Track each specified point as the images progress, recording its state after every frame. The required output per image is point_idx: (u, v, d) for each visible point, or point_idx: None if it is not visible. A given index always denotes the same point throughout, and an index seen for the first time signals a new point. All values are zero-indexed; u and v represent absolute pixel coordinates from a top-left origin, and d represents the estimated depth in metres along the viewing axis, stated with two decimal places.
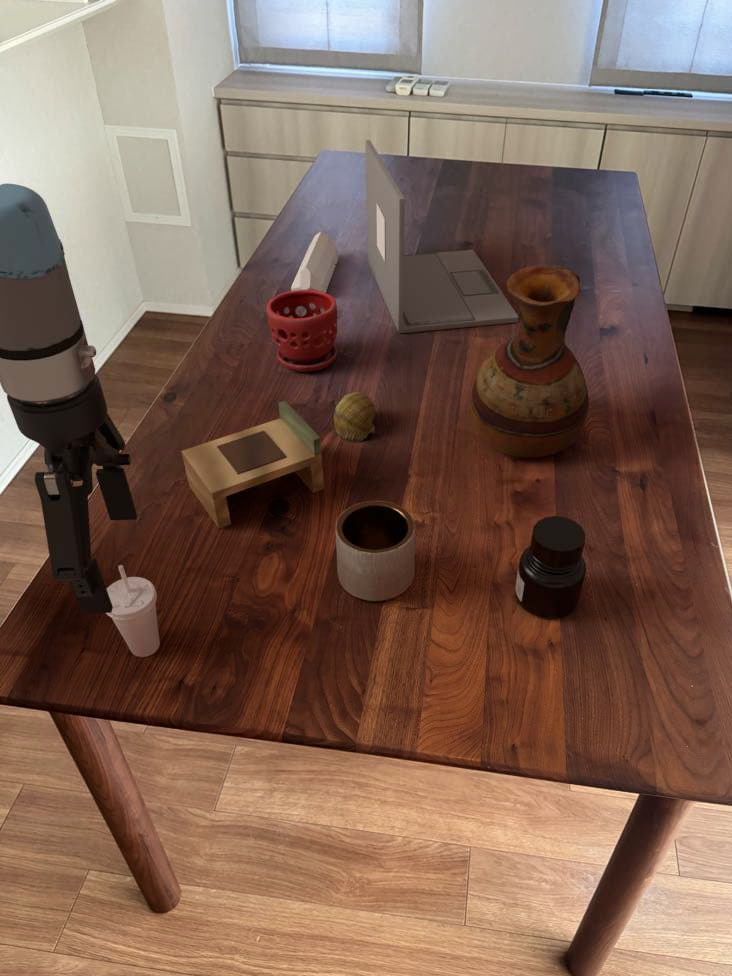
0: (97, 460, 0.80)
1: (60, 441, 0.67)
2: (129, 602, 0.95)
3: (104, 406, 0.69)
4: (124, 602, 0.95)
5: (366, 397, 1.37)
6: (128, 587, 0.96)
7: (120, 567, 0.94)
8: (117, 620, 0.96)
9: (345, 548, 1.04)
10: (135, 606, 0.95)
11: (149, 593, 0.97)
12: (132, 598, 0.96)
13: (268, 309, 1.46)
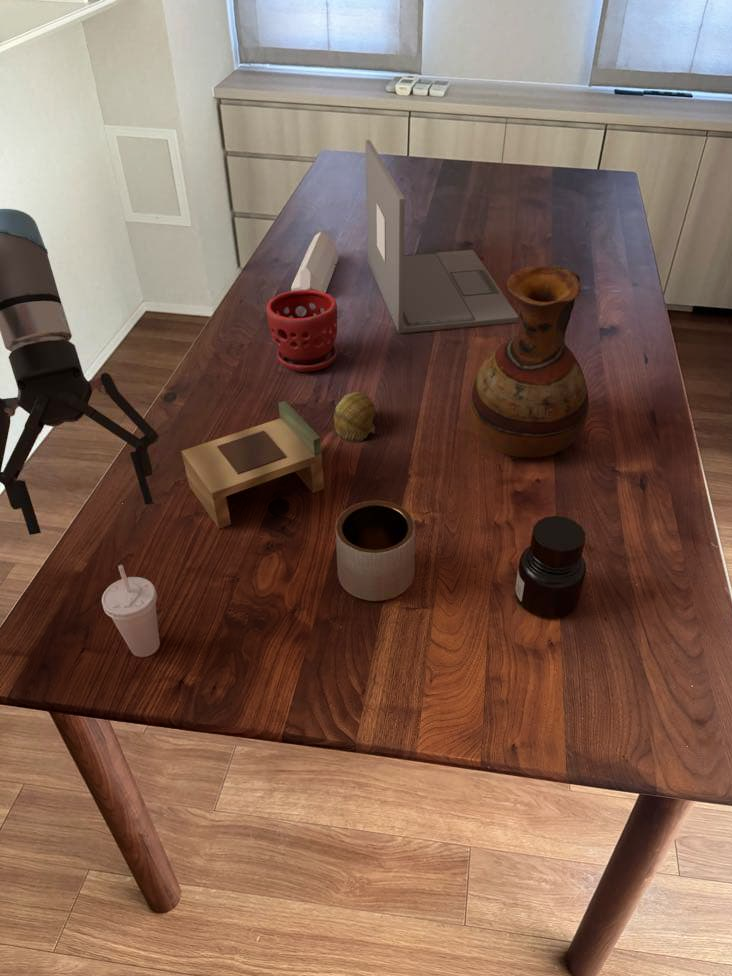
0: (22, 460, 0.94)
1: None
2: (129, 602, 0.95)
3: None
4: (124, 602, 0.95)
5: (366, 397, 1.37)
6: (128, 587, 0.96)
7: (120, 567, 0.94)
8: (117, 620, 0.96)
9: (345, 548, 1.04)
10: (135, 606, 0.95)
11: (149, 593, 0.97)
12: (132, 598, 0.96)
13: (268, 309, 1.46)
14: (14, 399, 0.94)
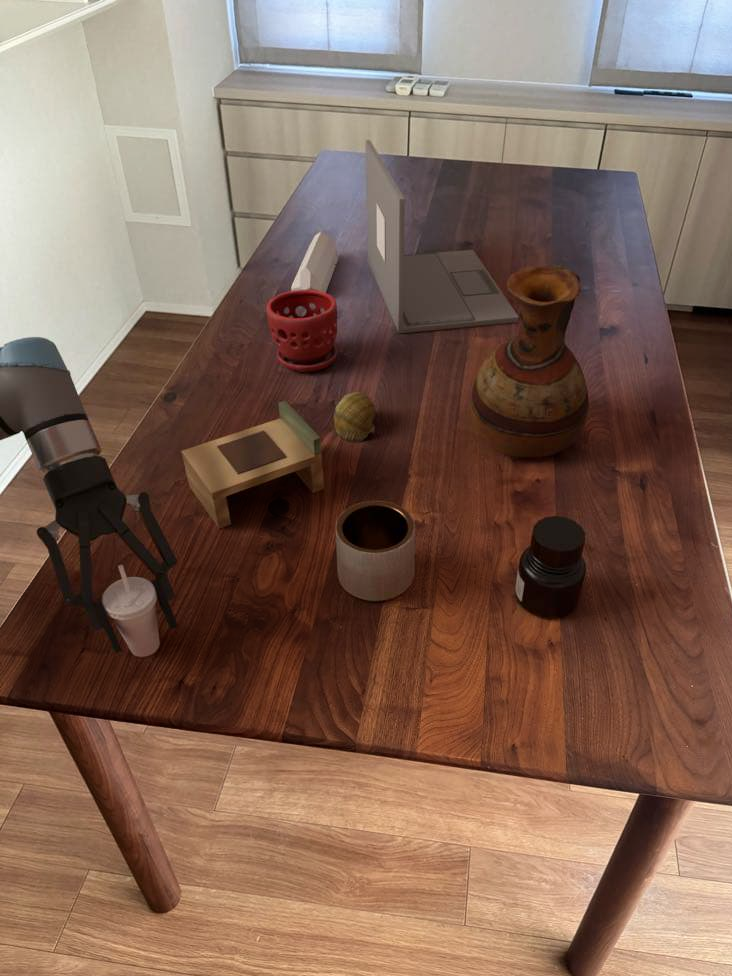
0: None
1: None
2: (129, 602, 0.95)
3: None
4: (124, 602, 0.95)
5: (366, 397, 1.37)
6: (128, 587, 0.96)
7: (120, 567, 0.94)
8: (117, 620, 0.96)
9: (345, 548, 1.04)
10: (135, 606, 0.95)
11: (149, 593, 0.97)
12: (132, 598, 0.96)
13: (268, 309, 1.46)
14: (54, 522, 0.94)
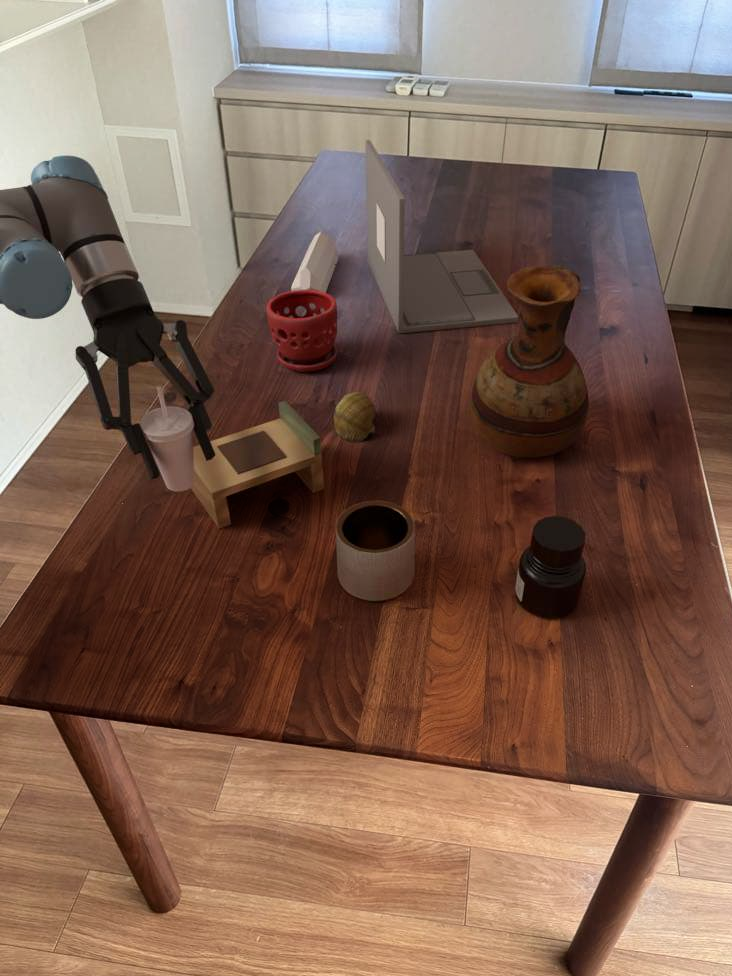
0: None
1: None
2: (167, 426, 0.95)
3: None
4: (162, 426, 0.95)
5: (366, 397, 1.37)
6: (166, 412, 0.96)
7: (159, 388, 0.93)
8: (155, 444, 0.95)
9: (345, 548, 1.04)
10: (172, 430, 0.95)
11: (186, 419, 0.96)
12: (170, 423, 0.95)
13: (268, 309, 1.46)
14: (92, 344, 0.94)
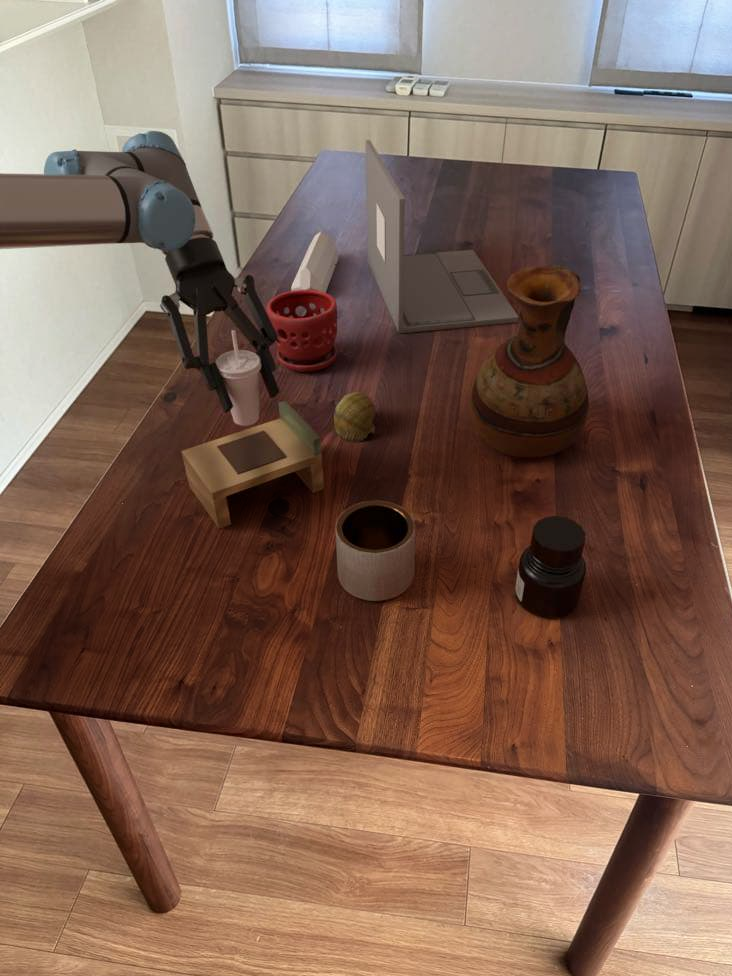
0: None
1: None
2: (239, 365, 1.10)
3: None
4: (235, 365, 1.10)
5: (366, 397, 1.37)
6: (238, 353, 1.11)
7: (233, 332, 1.08)
8: (228, 381, 1.10)
9: (345, 548, 1.04)
10: (244, 368, 1.10)
11: (255, 360, 1.11)
12: (241, 362, 1.10)
13: (268, 309, 1.46)
14: (175, 294, 1.09)
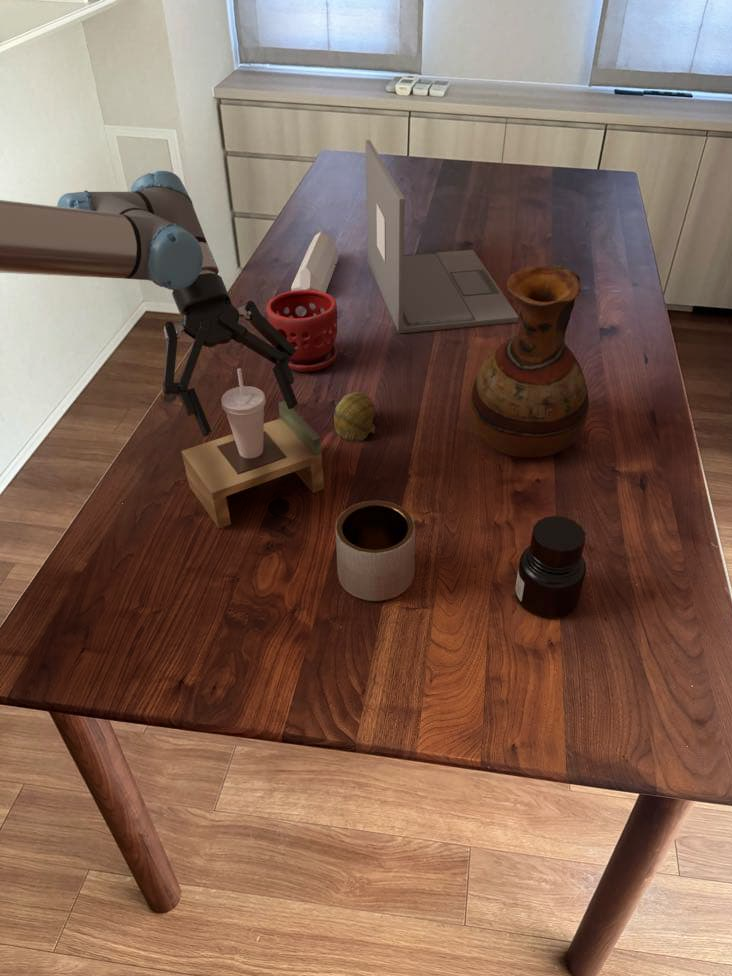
0: None
1: None
2: (245, 401, 1.14)
3: None
4: (240, 401, 1.14)
5: (366, 397, 1.37)
6: (243, 390, 1.15)
7: (239, 370, 1.13)
8: (234, 417, 1.15)
9: (345, 548, 1.04)
10: (249, 405, 1.14)
11: (260, 396, 1.16)
12: (247, 399, 1.15)
13: (268, 309, 1.46)
14: (180, 324, 1.13)
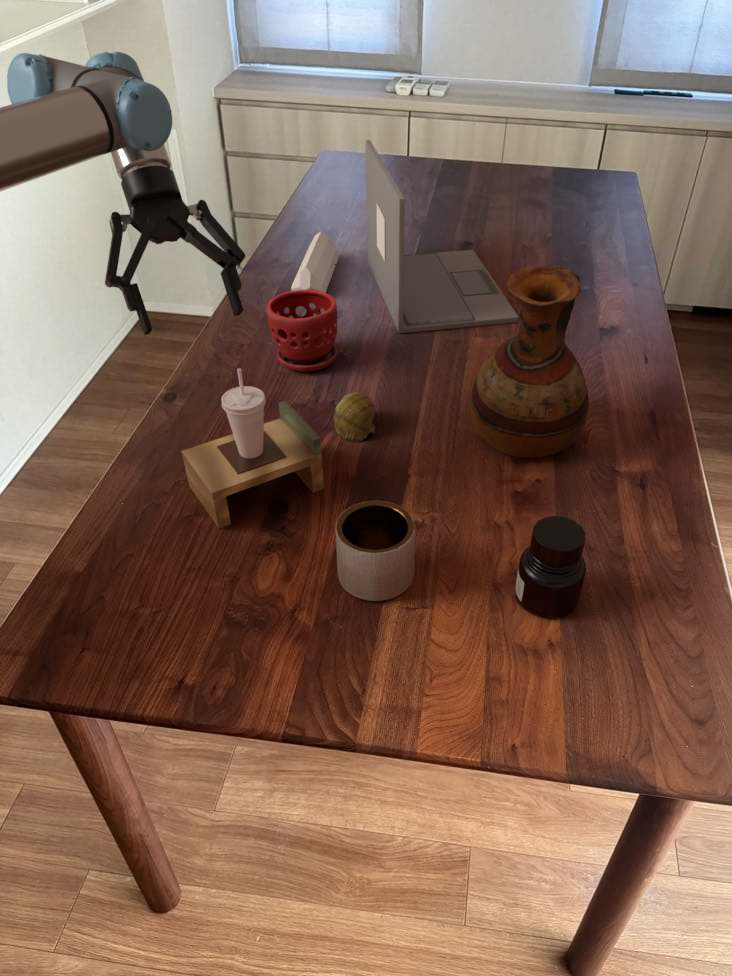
0: None
1: None
2: (245, 401, 1.14)
3: None
4: (240, 401, 1.14)
5: (366, 397, 1.37)
6: (243, 390, 1.15)
7: (239, 370, 1.13)
8: (234, 417, 1.15)
9: (345, 548, 1.04)
10: (249, 404, 1.14)
11: (260, 396, 1.16)
12: (247, 399, 1.15)
13: (268, 309, 1.46)
14: (127, 216, 1.10)
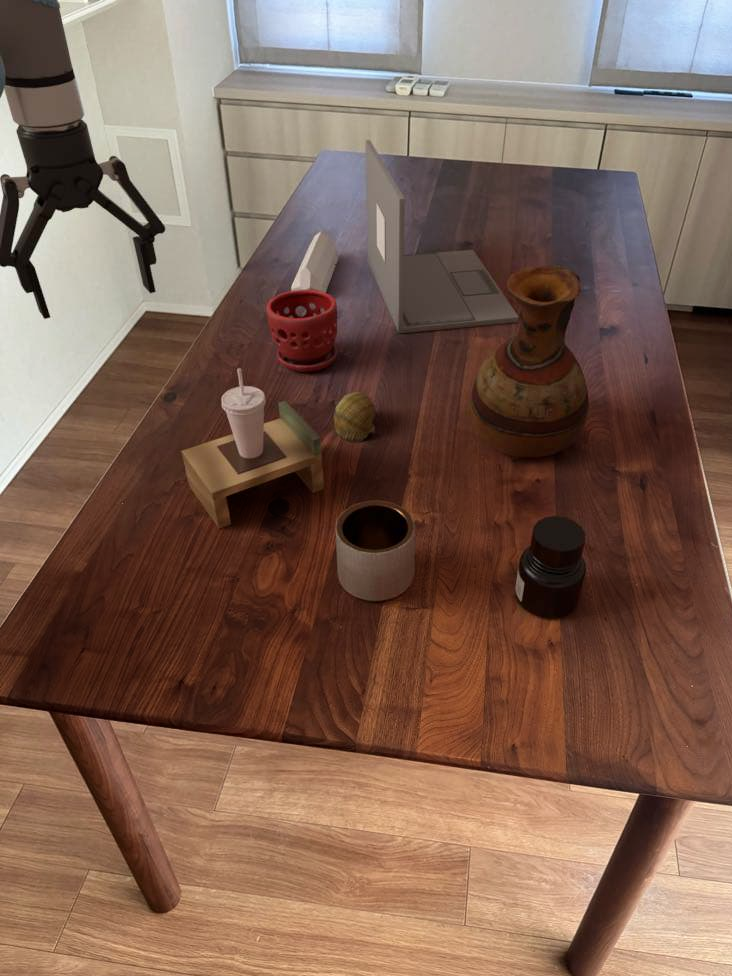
0: None
1: None
2: (245, 401, 1.14)
3: None
4: (240, 401, 1.14)
5: (366, 397, 1.37)
6: (243, 390, 1.15)
7: (239, 370, 1.13)
8: (234, 417, 1.15)
9: (345, 548, 1.04)
10: (249, 404, 1.14)
11: (260, 396, 1.16)
12: (247, 399, 1.15)
13: (268, 309, 1.46)
14: (25, 181, 0.90)
